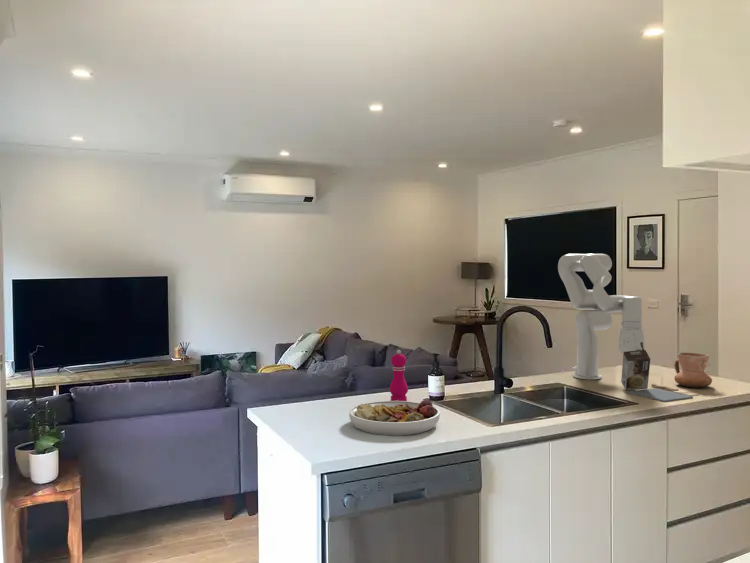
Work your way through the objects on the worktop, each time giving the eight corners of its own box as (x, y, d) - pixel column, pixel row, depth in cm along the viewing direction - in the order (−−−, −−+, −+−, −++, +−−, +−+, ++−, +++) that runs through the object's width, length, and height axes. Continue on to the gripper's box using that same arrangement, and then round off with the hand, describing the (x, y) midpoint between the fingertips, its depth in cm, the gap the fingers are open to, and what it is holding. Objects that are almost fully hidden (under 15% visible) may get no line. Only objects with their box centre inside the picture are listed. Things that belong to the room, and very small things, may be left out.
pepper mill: (410, 399, 236) (410, 349, 236) (403, 403, 230) (403, 351, 229) (393, 398, 239) (393, 348, 239) (386, 401, 233) (386, 350, 232)
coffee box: (642, 379, 256) (645, 349, 248) (647, 389, 251) (651, 358, 243) (620, 381, 257) (623, 351, 249) (625, 391, 252) (628, 360, 244)
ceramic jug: (722, 389, 255) (722, 355, 255) (695, 390, 251) (695, 356, 251) (689, 382, 272) (689, 350, 272) (663, 383, 268) (663, 351, 268)
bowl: (370, 443, 180) (370, 417, 179) (336, 419, 207) (336, 397, 207) (456, 432, 192) (456, 407, 191) (413, 411, 219) (413, 389, 219)
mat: (627, 392, 247) (627, 391, 247) (655, 389, 254) (655, 388, 254) (664, 402, 231) (664, 400, 231) (693, 398, 238) (693, 396, 238)
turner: (648, 387, 259) (648, 384, 259) (657, 386, 261) (657, 383, 261) (689, 396, 241) (689, 393, 241) (698, 395, 243) (698, 392, 243)
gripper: (611, 324, 260) (611, 366, 260) (639, 327, 246) (639, 371, 247) (624, 323, 263) (624, 365, 263) (652, 326, 249) (652, 370, 250)
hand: (632, 368), depth 255 cm, fingers closed
